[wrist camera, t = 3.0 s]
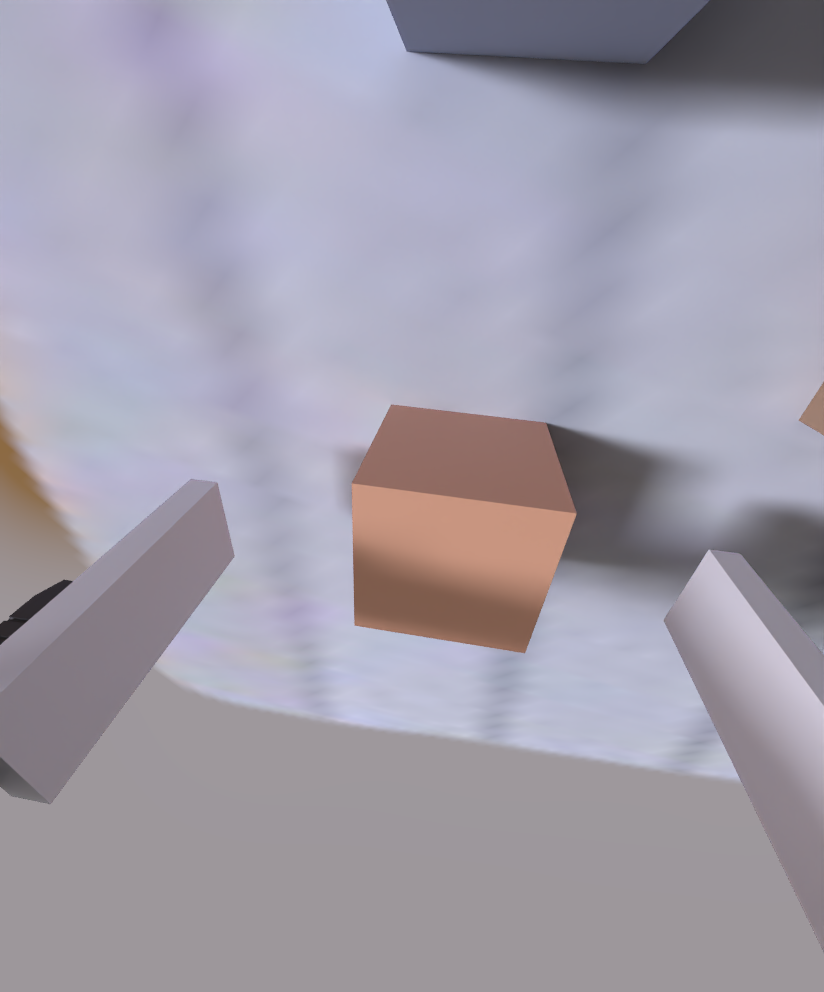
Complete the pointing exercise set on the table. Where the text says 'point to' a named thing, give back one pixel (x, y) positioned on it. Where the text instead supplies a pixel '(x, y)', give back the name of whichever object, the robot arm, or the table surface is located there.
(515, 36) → the slate rectangular block
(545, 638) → the table surface
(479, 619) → the terracotta cube
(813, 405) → the walnut cube
